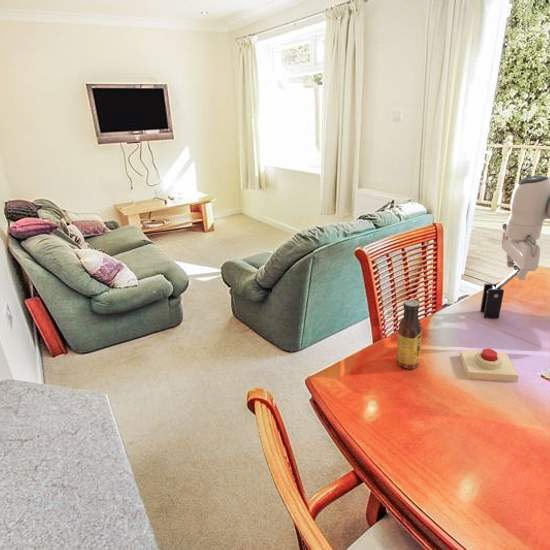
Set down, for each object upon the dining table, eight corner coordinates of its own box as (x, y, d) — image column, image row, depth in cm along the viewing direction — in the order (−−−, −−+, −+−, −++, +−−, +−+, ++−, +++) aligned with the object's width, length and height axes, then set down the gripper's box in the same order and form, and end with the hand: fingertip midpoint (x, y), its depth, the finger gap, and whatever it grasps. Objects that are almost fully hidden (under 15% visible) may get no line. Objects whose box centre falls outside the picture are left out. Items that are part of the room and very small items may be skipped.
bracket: (503, 311, 130) (509, 281, 125) (513, 325, 122) (519, 293, 117) (466, 310, 133) (470, 280, 128) (472, 324, 125) (477, 292, 120)
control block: (504, 358, 107) (507, 347, 106) (517, 381, 98) (520, 369, 97) (459, 356, 110) (461, 344, 108) (467, 378, 101) (469, 366, 100)
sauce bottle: (420, 371, 105) (426, 309, 97) (397, 370, 107) (401, 309, 99) (417, 356, 111) (422, 297, 103) (395, 356, 113) (398, 297, 104)
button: (494, 354, 104) (495, 349, 103) (498, 362, 101) (499, 356, 100) (479, 353, 105) (480, 348, 104) (483, 361, 102) (484, 356, 101)
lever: (520, 267, 121) (515, 263, 120) (526, 274, 116) (520, 269, 116) (490, 293, 126) (484, 289, 126) (495, 300, 122) (489, 296, 122)
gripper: (550, 242, 104) (539, 287, 109) (522, 221, 122) (514, 260, 127) (524, 242, 105) (515, 286, 111) (501, 221, 123) (494, 260, 129)
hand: (515, 272), depth 119 cm, fingers open, 8 cm apart
